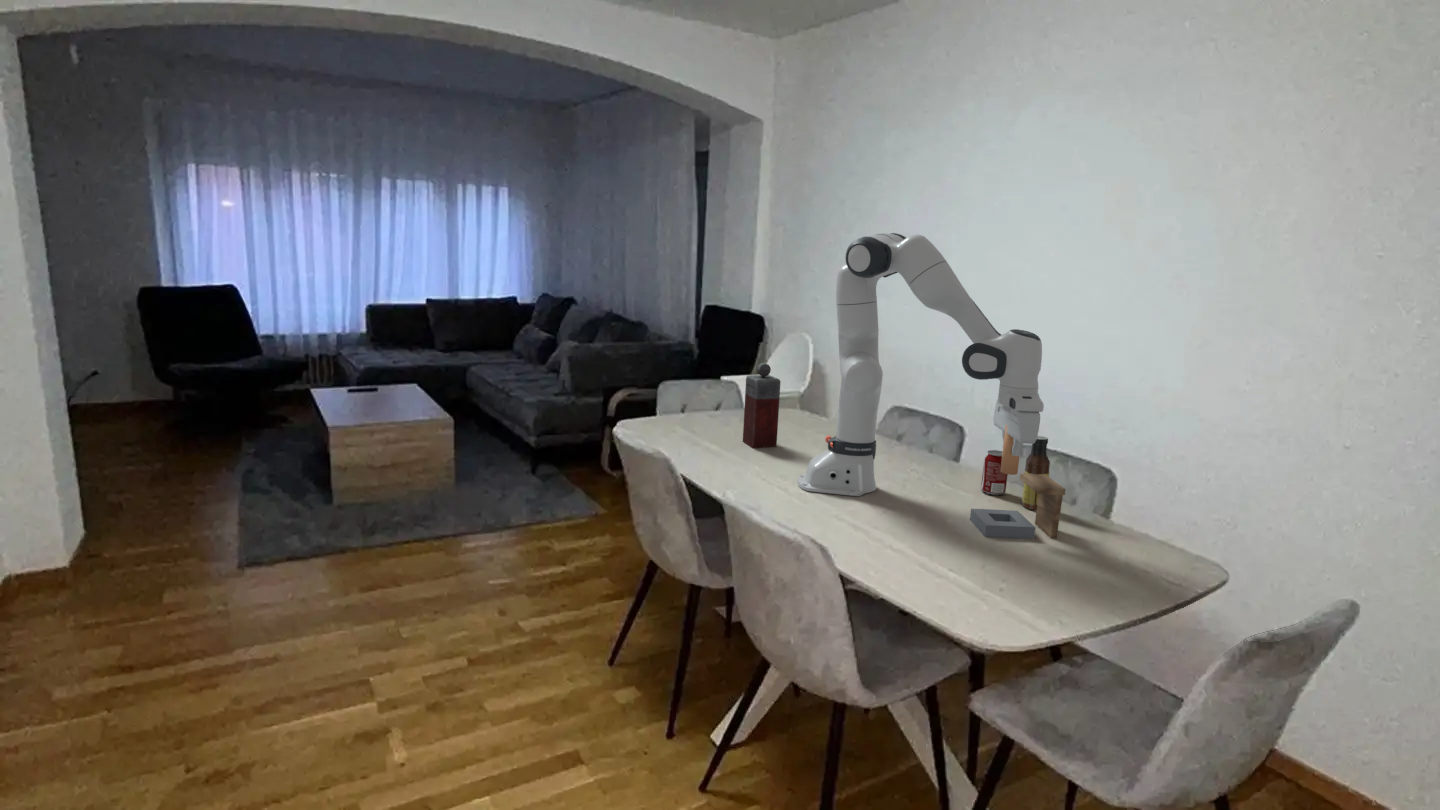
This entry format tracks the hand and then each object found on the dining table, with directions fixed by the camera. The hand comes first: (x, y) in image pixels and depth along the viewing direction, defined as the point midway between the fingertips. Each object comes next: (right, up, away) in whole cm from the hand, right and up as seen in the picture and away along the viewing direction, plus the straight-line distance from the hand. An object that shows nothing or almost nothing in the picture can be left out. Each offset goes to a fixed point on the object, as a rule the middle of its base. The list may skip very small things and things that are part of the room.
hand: (1010, 452), depth 194 cm
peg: (0, -5, +1) cm, 5 cm away
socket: (-1, -20, +4) cm, 20 cm away
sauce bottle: (+14, -17, +22) cm, 31 cm away
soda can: (+7, -14, +34) cm, 37 cm away
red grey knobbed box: (-59, -2, +76) cm, 96 cm away
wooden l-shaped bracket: (+8, -20, +4) cm, 22 cm away
